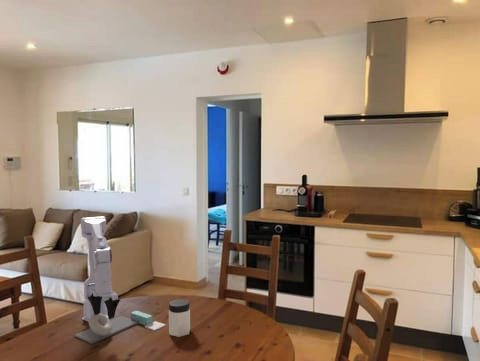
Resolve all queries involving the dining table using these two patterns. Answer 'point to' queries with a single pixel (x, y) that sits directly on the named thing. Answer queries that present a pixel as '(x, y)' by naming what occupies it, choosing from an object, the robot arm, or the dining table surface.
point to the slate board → (117, 326)
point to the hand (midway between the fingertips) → (104, 316)
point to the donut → (100, 324)
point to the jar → (179, 317)
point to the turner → (146, 320)
